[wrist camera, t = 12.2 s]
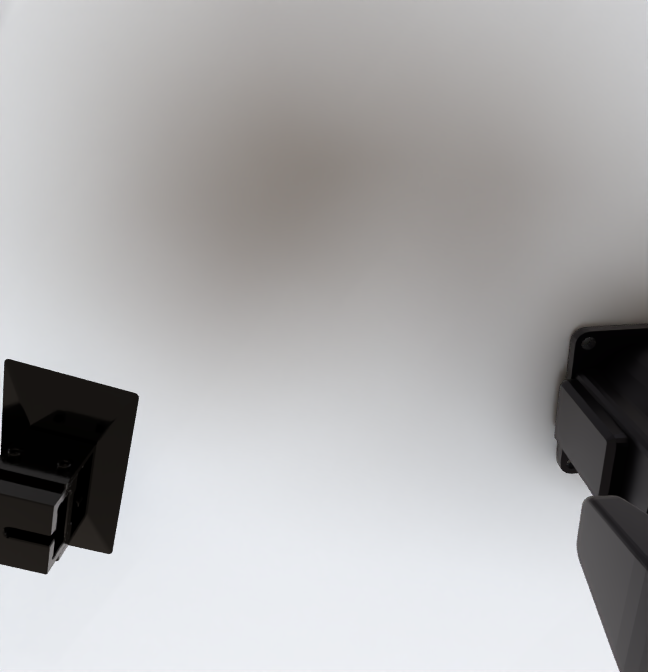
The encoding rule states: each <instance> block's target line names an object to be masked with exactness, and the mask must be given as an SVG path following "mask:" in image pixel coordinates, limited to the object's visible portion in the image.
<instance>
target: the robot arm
mask: <svg viewBox="0 0 648 672" xmlns="http://www.w3.org/2000/svg"><path fill="white" fill-rule="evenodd" d="M589 337H591V341H590V342H589V343H588V344H587V345H584V346H583V345H582V342H583V340H585V339H586V338H589ZM554 436H555V438H556V440H557V441H558V443H559V444H558V452H557V463H558V464H559V466H560V468H561V469H562V470H563V471H564V472H566V473H571V474H573V473H579V475H580V476H581V478H582V479H583V481H584V482H585V484H586V485H587V487H588V488H589V490H590V491H591V493H592V494H593V496H590V497H587V498H586V499H585V500H584V502H583V504H582V509H581V516H580V523H579V529H578V536H577V553H578V557H579V561H580V564H581V567H582V569H583V572H584V575H585V578H586V581H587V583H588V586H589V589H590V592H591V594H592V597H593V600H594V603H595V605H596V608H597V611H598V614H599V617H600V619H601V622H602V625H603V628H604V630H605V633H606V636H607V639H608V642H609V644H610V647H611V650H612V653H613V655H614V658H615V661H616V663H617V666H618V668H619V671H620V672H648V324H633V325H616V326H600V327H585V328H581V329H579V330H577V331H576V332H575V333H574V334H573V335H572V338H571V343H570V351H569V360H568V368H567V376H566V379H565V380H564V381H563V383H562V384H561V385H560V390H559V399H558V408H557V417H556V425H555V434H554ZM569 460H570V461H571V462H570V463H567V461H569Z"/></svg>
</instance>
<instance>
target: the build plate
mask: <svg viewBox="0 0 648 672" xmlns="http://www.w3.org/2000/svg"><path fill="white" fill-rule="evenodd" d="M138 400H139V396H138V395H137V394H136V393H133V392H129V391H125V390H122V389H118V388H114V387H111V386H107V385H103V384H100V383H96V382H92V381H88V380H85V379H81V378H77V377H74V376H70V375H66V374H62V373H59V372H55V371H51V370H48V369H44V368H40V367H37V366H33V365H29V364H25V363H22V362H18V361H14V360H11V359H6V360H5V362H4V386H3V411H2V436H1V455H0V564H2V565H7V566H11V567H15V568H20V569H24V570H29V571H33V572H38V573H42V574H48V572H49V570H50V569H51V567H52V566H53V564H54V562H55V561H58V560H59V559H60V557H61V556H62V554H63V553H64V551H65V549H66V548H67V546H68V545H71V546H75V547H79V548H84V549H88V550H93V551H97V552H102V553H106V554H111V553H112V551H113V545H114V539H115V533H116V528H117V522H118V516H119V510H120V505H121V499H122V493H123V487H124V481H125V476H126V470H127V464H128V458H129V452H130V447H131V441H132V435H133V429H134V424H135V418H136V412H137V406H138Z"/></svg>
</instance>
